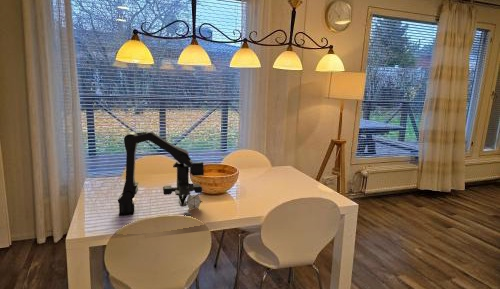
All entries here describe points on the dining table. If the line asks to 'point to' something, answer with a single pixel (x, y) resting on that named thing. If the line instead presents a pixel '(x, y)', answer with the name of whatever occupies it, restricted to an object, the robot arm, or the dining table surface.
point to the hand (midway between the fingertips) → (182, 205)
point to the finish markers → (187, 212)
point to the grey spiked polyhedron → (193, 201)
